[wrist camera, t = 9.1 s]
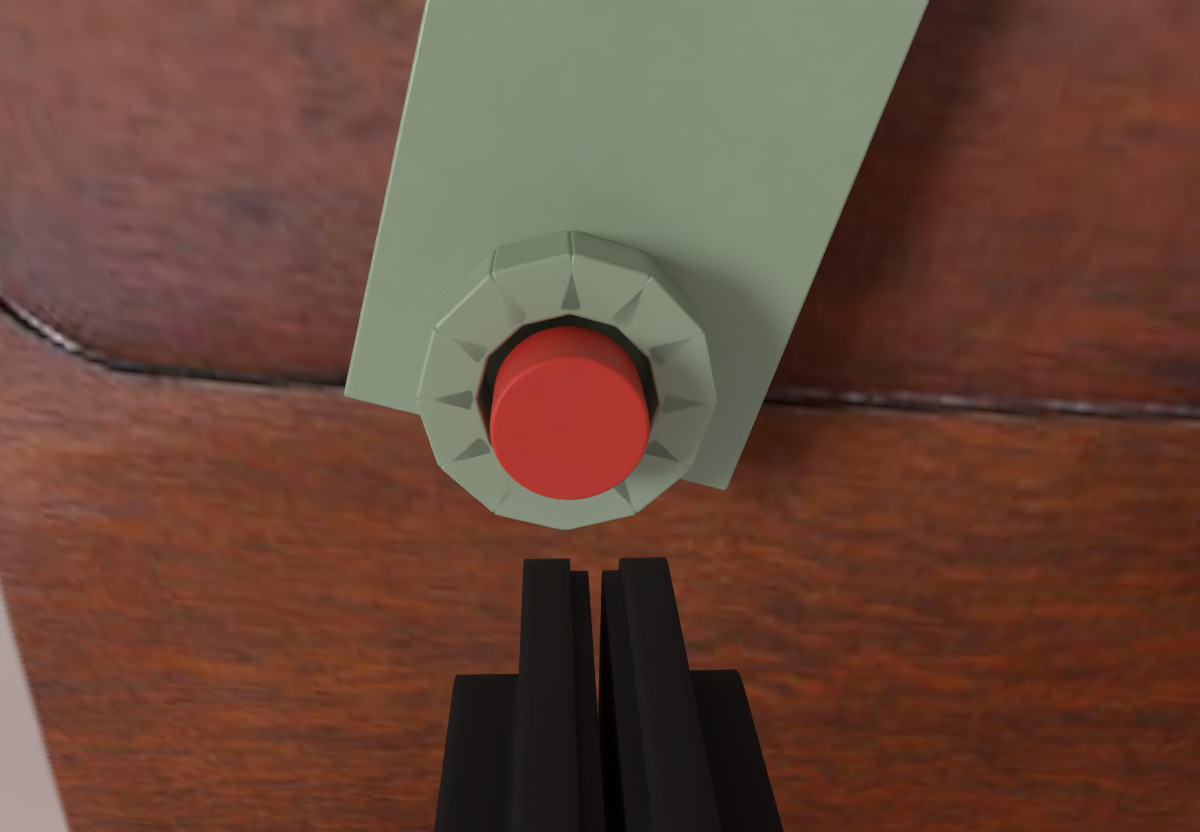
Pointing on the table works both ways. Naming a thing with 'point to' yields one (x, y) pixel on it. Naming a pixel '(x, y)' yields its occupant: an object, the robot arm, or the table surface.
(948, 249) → the table surface
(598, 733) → the robot arm
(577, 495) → the button
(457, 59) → the switch box
